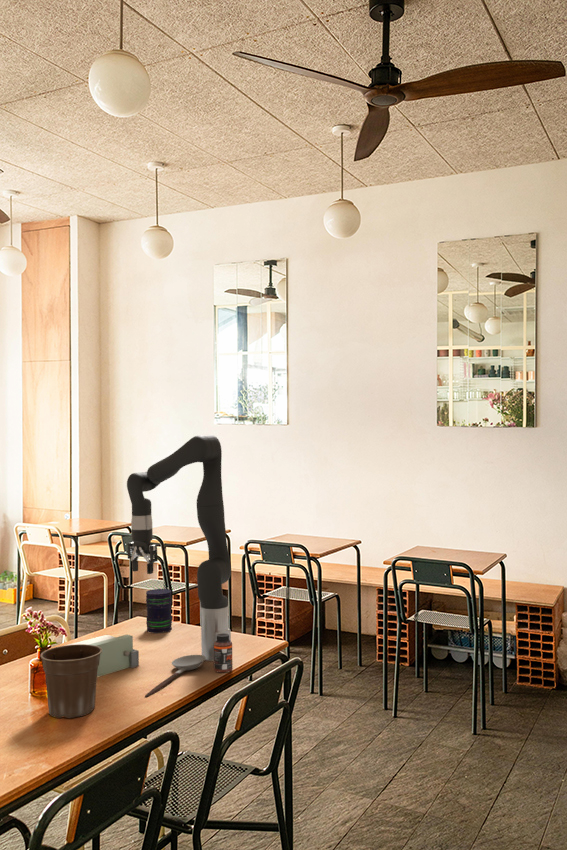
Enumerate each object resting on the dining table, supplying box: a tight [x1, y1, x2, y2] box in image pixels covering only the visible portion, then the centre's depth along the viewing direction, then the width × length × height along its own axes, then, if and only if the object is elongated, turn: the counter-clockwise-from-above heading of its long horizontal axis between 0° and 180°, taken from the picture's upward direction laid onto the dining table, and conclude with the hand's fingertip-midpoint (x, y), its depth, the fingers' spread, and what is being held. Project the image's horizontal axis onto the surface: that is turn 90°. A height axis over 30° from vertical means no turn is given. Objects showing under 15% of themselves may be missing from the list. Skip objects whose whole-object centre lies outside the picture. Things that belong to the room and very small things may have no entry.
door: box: [89, 634, 134, 678], centre depth 233 cm, size 4×20×10 cm, turn 139°
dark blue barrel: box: [145, 588, 173, 634], centre depth 285 cm, size 10×10×15 cm
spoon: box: [144, 654, 206, 698], centre depth 225 cm, size 11×33×3 cm, turn 160°
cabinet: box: [64, 634, 140, 669], centre depth 236 cm, size 16×23×8 cm
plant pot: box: [40, 644, 102, 719], centre depth 201 cm, size 16×16×16 cm
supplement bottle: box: [213, 633, 233, 674], centre depth 233 cm, size 6×6×11 cm
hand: (142, 572), depth 265 cm, fingers open, 8 cm apart
